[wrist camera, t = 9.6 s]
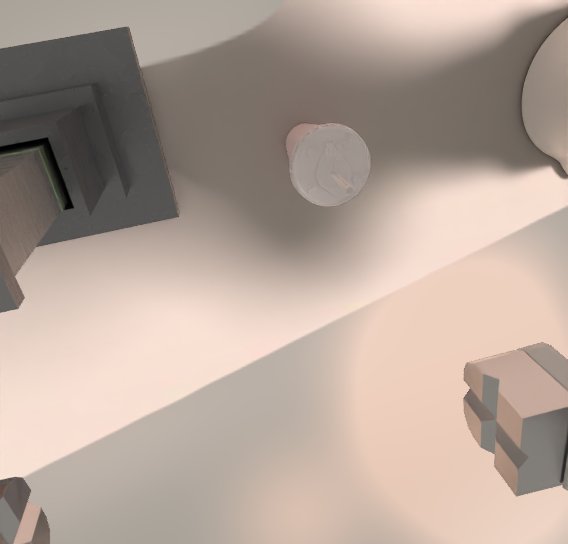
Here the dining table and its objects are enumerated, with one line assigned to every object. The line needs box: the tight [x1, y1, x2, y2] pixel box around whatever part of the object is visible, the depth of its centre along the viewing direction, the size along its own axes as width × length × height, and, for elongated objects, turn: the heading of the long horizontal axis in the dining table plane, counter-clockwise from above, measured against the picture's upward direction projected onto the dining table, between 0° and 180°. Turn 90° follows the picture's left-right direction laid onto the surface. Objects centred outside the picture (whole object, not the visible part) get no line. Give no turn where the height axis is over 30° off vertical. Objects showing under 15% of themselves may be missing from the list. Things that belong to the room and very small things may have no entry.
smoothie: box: [286, 123, 371, 207], centre depth 40 cm, size 6×6×14 cm
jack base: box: [0, 27, 179, 247], centre depth 37 cm, size 16×16×12 cm
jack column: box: [0, 137, 70, 313], centre depth 28 cm, size 5×5×18 cm
